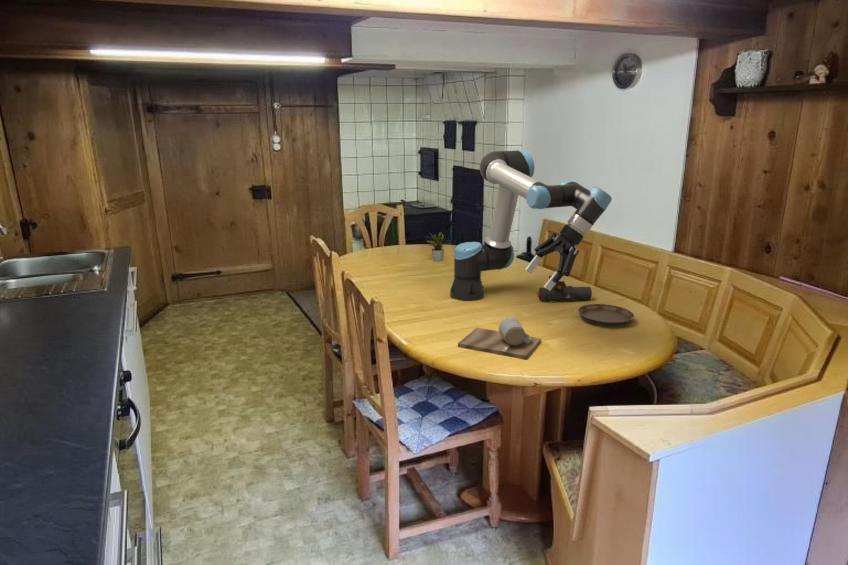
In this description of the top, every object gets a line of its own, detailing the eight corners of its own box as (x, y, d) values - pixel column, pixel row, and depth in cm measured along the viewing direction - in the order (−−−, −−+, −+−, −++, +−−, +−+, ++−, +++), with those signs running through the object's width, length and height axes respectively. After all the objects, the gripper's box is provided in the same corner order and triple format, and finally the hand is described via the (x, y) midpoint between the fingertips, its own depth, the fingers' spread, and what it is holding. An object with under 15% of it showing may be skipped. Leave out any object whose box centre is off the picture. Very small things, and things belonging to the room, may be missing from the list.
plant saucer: (645, 326, 207) (646, 317, 206) (597, 332, 201) (597, 323, 200) (612, 309, 226) (612, 301, 225) (567, 314, 220) (567, 306, 219)
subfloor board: (457, 346, 188) (457, 342, 187) (476, 330, 202) (476, 327, 202) (526, 359, 177) (526, 355, 177) (540, 341, 192) (540, 337, 191)
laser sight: (593, 303, 234) (594, 280, 231) (540, 304, 232) (542, 282, 229) (584, 296, 243) (586, 274, 240) (534, 297, 241) (535, 275, 239)
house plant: (426, 256, 318) (426, 228, 314) (450, 257, 316) (450, 229, 312) (423, 262, 305) (423, 233, 300) (448, 263, 303) (448, 233, 298)
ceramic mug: (504, 347, 183) (506, 325, 181) (497, 338, 191) (499, 317, 189) (535, 346, 185) (537, 325, 183) (527, 337, 193) (529, 316, 190)
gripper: (603, 249, 177) (562, 301, 182) (563, 222, 198) (527, 269, 203) (589, 238, 174) (547, 292, 178) (549, 212, 195) (513, 260, 199)
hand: (537, 280), depth 191 cm, fingers open, 13 cm apart
